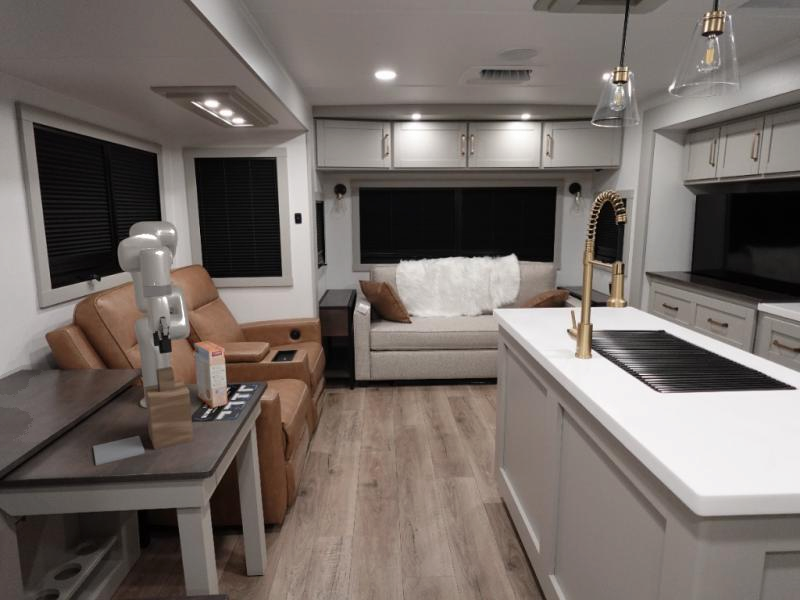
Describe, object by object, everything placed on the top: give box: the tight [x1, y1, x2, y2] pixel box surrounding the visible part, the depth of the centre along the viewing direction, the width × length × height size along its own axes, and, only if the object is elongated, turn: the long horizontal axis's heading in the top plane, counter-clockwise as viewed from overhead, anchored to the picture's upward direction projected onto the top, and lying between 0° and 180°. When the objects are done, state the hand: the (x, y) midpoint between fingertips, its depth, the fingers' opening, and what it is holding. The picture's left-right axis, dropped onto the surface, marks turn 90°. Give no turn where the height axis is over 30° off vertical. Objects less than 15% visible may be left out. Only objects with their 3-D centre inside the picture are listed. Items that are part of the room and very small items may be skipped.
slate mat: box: [92, 435, 146, 466], centre depth 144 cm, size 12×12×1 cm
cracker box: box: [193, 340, 229, 409], centre depth 178 cm, size 14×6×21 cm, turn 41°
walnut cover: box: [143, 366, 195, 450], centre depth 149 cm, size 11×11×22 cm
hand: (162, 349), depth 146 cm, fingers open, 9 cm apart
